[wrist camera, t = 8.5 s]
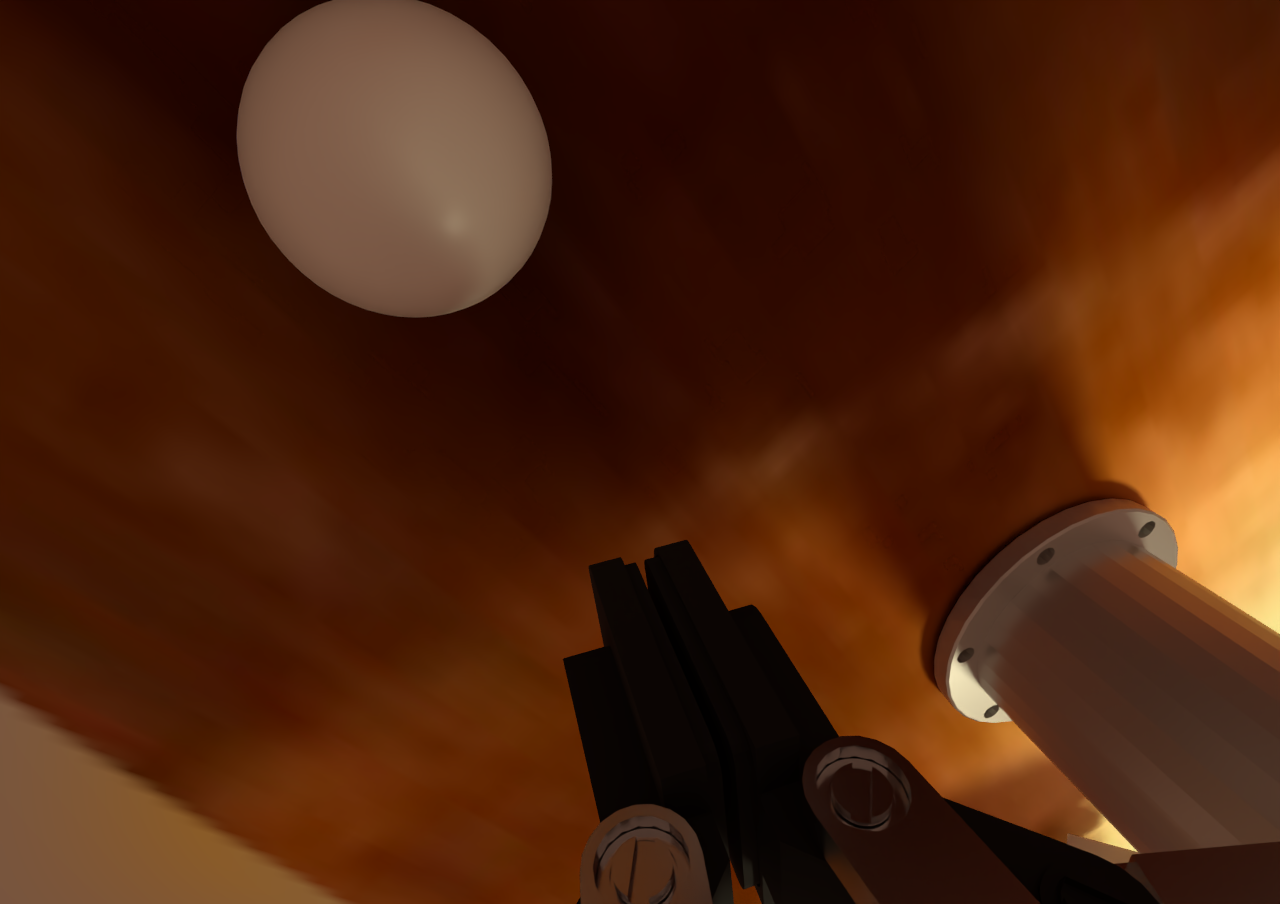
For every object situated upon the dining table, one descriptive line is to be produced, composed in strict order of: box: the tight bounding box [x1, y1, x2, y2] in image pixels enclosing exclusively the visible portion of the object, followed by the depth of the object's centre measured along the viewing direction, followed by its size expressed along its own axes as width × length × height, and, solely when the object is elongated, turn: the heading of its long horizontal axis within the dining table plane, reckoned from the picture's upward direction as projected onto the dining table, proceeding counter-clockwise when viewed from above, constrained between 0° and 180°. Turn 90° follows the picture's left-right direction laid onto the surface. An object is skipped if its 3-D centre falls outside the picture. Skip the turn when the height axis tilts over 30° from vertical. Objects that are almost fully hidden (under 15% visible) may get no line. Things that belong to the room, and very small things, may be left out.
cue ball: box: [237, 0, 552, 318], centre depth 13 cm, size 6×6×6 cm
